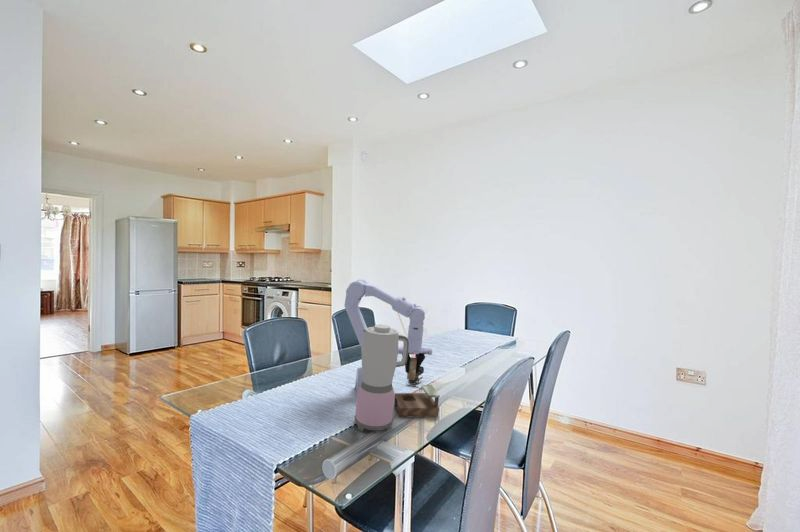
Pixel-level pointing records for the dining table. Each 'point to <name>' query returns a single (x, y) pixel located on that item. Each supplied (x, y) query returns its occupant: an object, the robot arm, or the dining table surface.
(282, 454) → the dining table surface
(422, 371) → the eagle figurine
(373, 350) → the blender
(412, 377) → the peg
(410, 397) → the socket deck
